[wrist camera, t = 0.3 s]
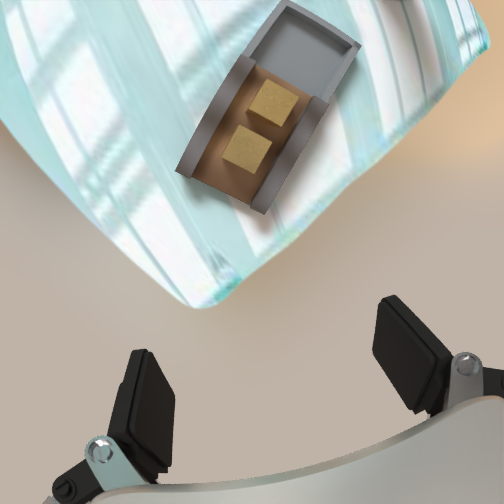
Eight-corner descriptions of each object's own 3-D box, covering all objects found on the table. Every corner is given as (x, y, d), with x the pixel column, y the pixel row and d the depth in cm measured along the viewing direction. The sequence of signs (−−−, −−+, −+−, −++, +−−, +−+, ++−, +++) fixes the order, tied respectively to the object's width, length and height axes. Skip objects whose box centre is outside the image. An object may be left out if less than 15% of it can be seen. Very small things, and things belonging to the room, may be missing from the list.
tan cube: (261, 84, 29) (266, 78, 25) (290, 100, 30) (299, 97, 26) (245, 111, 30) (248, 108, 26) (274, 127, 31) (281, 126, 27)
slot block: (239, 61, 29) (241, 53, 25) (319, 106, 32) (329, 104, 29) (179, 167, 34) (174, 171, 30) (260, 207, 37) (264, 214, 34)
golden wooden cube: (237, 125, 30) (239, 124, 27) (266, 141, 32) (272, 142, 28) (221, 154, 32) (221, 157, 28) (250, 169, 33) (254, 174, 29)
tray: (279, 4, 25) (283, -3, 23) (353, 49, 29) (361, 45, 26) (239, 61, 29) (240, 56, 26) (319, 106, 32) (326, 105, 30)
